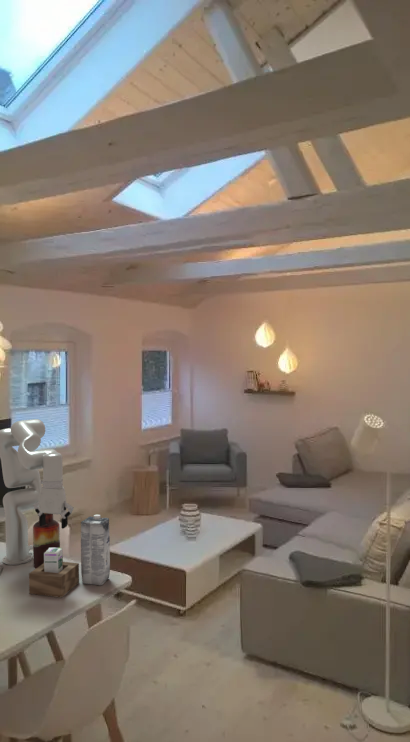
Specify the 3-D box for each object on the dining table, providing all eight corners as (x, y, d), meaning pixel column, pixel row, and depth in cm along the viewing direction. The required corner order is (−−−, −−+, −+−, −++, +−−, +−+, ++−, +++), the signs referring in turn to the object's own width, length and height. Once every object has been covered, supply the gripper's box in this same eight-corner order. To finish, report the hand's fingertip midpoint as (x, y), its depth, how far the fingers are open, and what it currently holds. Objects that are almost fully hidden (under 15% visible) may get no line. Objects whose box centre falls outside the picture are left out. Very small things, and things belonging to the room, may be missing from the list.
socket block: (48, 579, 228) (48, 560, 227) (79, 582, 224) (78, 563, 224) (29, 593, 214) (29, 573, 214) (61, 597, 210) (61, 577, 210)
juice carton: (102, 587, 219) (101, 520, 218) (79, 584, 222) (78, 518, 221) (112, 578, 228) (111, 514, 227) (89, 575, 231) (88, 512, 230)
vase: (28, 575, 232) (27, 514, 231) (42, 565, 242) (41, 506, 241) (52, 577, 229) (51, 515, 228) (65, 567, 240) (64, 508, 239)
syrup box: (58, 588, 216) (58, 552, 215) (44, 588, 216) (43, 552, 216) (63, 582, 221) (63, 547, 221) (49, 582, 222) (48, 547, 221)
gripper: (28, 484, 216) (28, 527, 217) (67, 488, 212) (68, 531, 212) (39, 480, 223) (39, 521, 224) (77, 483, 219) (77, 525, 220)
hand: (53, 526), depth 218 cm, fingers open, 9 cm apart
